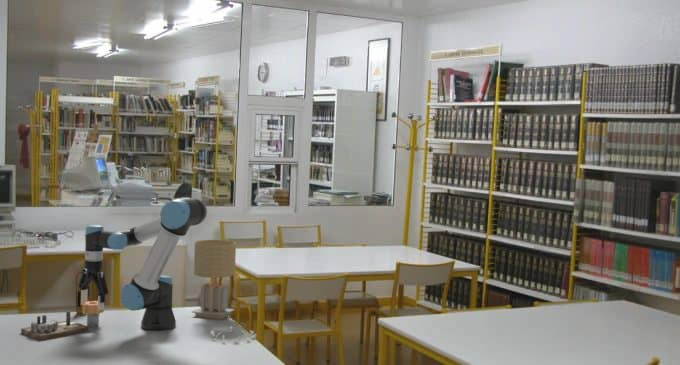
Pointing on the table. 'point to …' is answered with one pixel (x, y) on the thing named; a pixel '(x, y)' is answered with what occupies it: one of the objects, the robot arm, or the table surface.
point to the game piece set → (233, 339)
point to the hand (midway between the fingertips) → (92, 307)
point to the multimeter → (78, 298)
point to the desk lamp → (214, 275)
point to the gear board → (55, 333)
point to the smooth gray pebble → (92, 320)
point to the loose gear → (91, 308)
